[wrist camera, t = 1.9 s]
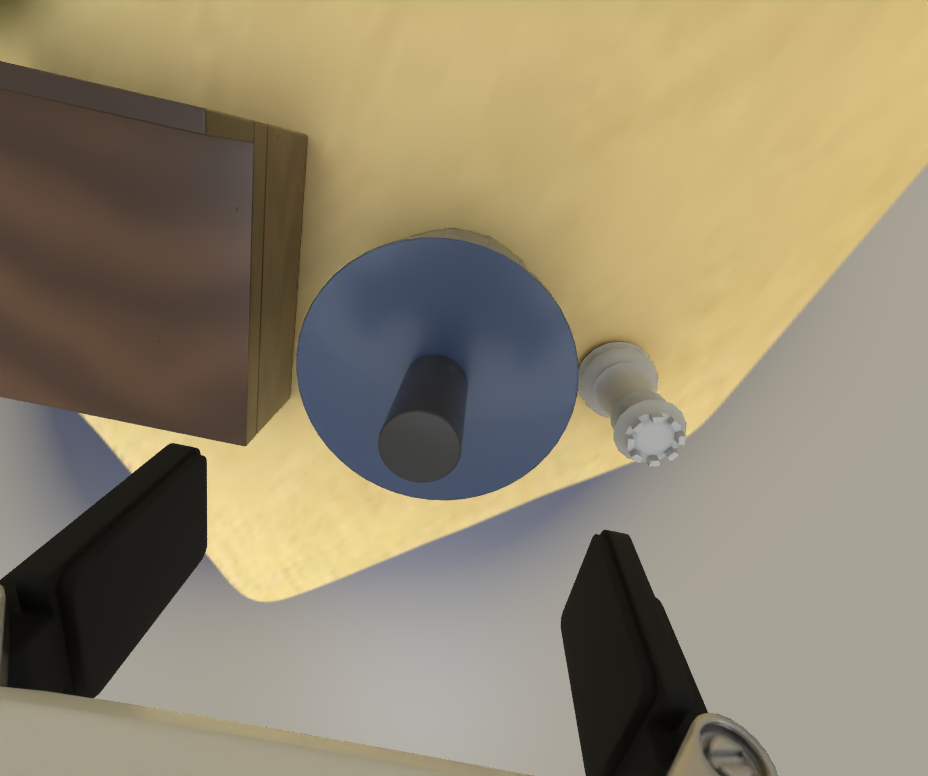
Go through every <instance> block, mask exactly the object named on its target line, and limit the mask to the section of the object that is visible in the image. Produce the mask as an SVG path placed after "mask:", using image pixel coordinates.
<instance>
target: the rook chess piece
mask: <svg viewBox="0 0 928 776" xmlns="http://www.w3.org/2000/svg"><path fill="white" fill-rule="evenodd" d="M578 372H579V381H578V390H579V392H580V394H581V397H582V399H583V400H584V401H585V403H586V405H587V406H588V407H590V408H591V409H592V410H593V411H594V412H596V413H597V414H599V415H601V416H604V417H608V418H611V425H612V427H613V429H614V442H615V444H616V446H617V448H618V450H619V451H620V452H621V453H622V454H623V455H625V456H626V457H627V458H629V459H632V460H635V461H637V462H638V463H640V462H647V464H648V466H660V461H659V459H662V458H665V457H668V458H669V460H670V461H672V460H674V459H675V458H676V457H677V456H679V453H678V452H677V450H676V449H677V448H678V447H679V446H680V445H685V439H686V435H685V432H686V421H685V419H684V416H683V414H682V412H681V411H680V410H679V409H678V408H677V407H676V406H674V405H673V404H672V403H669V402H666V400H665V399H663V398H662V397H661V396H660V395H659V394H657V393H656V391H657V383H658V374H657V372H656V369H655V367H654V364H653V362H652V361H651V360H650V357H649V355H647V354H646V353H645V352H644V351H643V350H642V349H641V348H640V347H639V346H636V345H633V344H630V343H626V342H614V343H607V344H605V345H603V346H600V347H598V348H596V349H594V350H593V351H592V352H591V353H590V354H589V355H588V356H587V357H586V358H585V359H584V360H583V361H582V364H581V366H580V368H579V370H578Z"/></svg>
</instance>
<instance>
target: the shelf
mask: <svg viewBox="0 0 928 776" xmlns="http://www.w3.org/2000/svg"><path fill="white" fill-rule="evenodd" d="M306 152H307V135H306V134H302V133H298V132H294V131H290V130H287V129H283V128H279V127H275V126H271V125H267V124H263V123H260V122H256V121H252V120H248V119H244V118H240V117H236V116H233V115H229V114H225V113H221V112H217V111H213V110H209V109H206V108H201V107H197V106H193V105H188V104H184V103H180V102H175V101H171V100H167V99H162V98H158V97H154V96H149V95H145V94H141V93H136V92H132V91H127V90H123V89H119V88H114V87H110V86H106V85H101V84H97V83H93V82H88V81H84V80H80V79H75V78H71V77H67V76H62V75H58V74H54V73H49V72H45V71H41V70H36V69H32V68H27V67H23V66H19V65H14V64H10V63H6V62H1V61H0V397H5V398H9V399H15V400H19V401H24V402H29V403H34V404H39V405H45V406H49V407H54V408H59V409H64V410H69V411H74V412H78V413H83V414H88V415H93V416H98V417H103V418H108V419H113V420H118V421H123V422H128V423H133V424H138V425H143V426H147V427H152V428H157V429H162V430H167V431H172V432H177V433H182V434H187V435H192V436H197V437H202V438H207V439H211V440H216V441H221V442H226V443H231V444H236V445H241V446H247V445H248V444H249V442H250V441H251V440H252V439H253V438H254V437H255V436H256V434H257V433H258V432H259V431H260V430H261V429H262V428H263V427H264V426H265V425H266V424H267V422H268V421H269V420H270V419H271V418H272V417H273V416H274V415H275V414H276V413H277V412H278V411H279V409H280V408H281V407H282V406H283V405H284V404H285V403H286V402H287V401H288V400H289V399H290V391H291V376H292V361H293V346H294V331H295V316H296V301H297V286H298V272H299V257H300V242H301V227H302V212H303V197H304V182H305V167H306Z"/></svg>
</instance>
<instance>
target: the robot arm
mask: <svg viewBox="0 0 928 776" xmlns="http://www.w3.org/2000/svg"><path fill="white" fill-rule="evenodd" d="M206 548H207V461H206V457H205V456H202V455H201V454H200V451H199V449H197V448H194V447H189V446H184V445H179V444H174V443H172V444H169V445H167V446H166V447H165V448H163V449H162V450H161V451H160V452H158V453H157V454H156V455H155V456H153V457H152V458H151V459H150V460H149V461H147V462H146V463H145V464H144V465H142V466H141V467H140V468H139V469H137V470H136V471H135V472H134V473H132V474H131V475H130V476H129V477H127V478H126V479H125V480H124V481H123V482H121V483H120V484H119V485H118V486H116V487H115V488H114V489H113V490H111V491H110V492H109V493H108V494H106V495H105V496H104V497H103V498H101V499H100V500H99V501H98V502H96V503H95V504H94V505H93V506H91V507H90V508H89V509H88V510H86V511H85V512H84V513H83V514H81V515H80V516H79V517H78V518H77V519H75V520H74V521H73V522H72V523H70V524H69V525H68V526H67V527H65V529H63V530H62V531H60V532H59V533H58V534H57V535H55V536H54V537H53V538H52V539H50V541H48V542H47V543H46V544H44V545H43V546H42V547H41V548H39V549H38V550H37V551H36V552H34V553H33V554H32V555H31V556H29V557H28V558H27V559H26V560H24V561H23V562H22V563H21V564H20V565H18V566H17V567H16V568H15V569H13V570H12V571H11V572H10V573H8V574H7V575H6V576H5V577H3V578H2V579H1V580H0V776H532V775H527V774H521V773H516V772H510V771H505V770H499V769H494V768H489V767H483V766H478V765H472V764H467V763H462V762H456V761H450V760H445V759H440V758H435V757H429V756H423V755H418V754H413V753H407V752H402V751H396V750H390V749H385V748H379V747H373V746H368V745H363V744H357V743H351V742H346V741H340V740H334V739H329V738H323V737H318V736H312V735H306V734H301V733H295V732H289V731H283V730H278V729H272V728H267V727H261V726H255V725H249V724H244V723H238V722H232V721H226V720H220V719H214V718H209V717H203V716H197V715H191V714H185V713H179V712H174V711H168V710H162V709H156V708H150V707H144V706H138V705H133V704H127V703H120V702H113V701H107V700H100V699H94V697H96V696H97V695H98V694H99V693H100V692H101V691H102V690H103V688H104V687H105V686H106V684H107V683H108V682H109V680H110V679H111V678H112V677H113V675H114V674H115V673H116V671H117V670H118V669H119V667H120V666H121V665H122V664H123V662H124V661H125V660H126V658H127V657H128V656H129V654H130V653H131V652H132V650H133V649H134V648H135V647H136V645H137V644H138V643H139V641H140V640H141V639H142V637H143V636H144V635H145V633H146V632H147V631H148V629H149V628H150V627H151V626H152V624H153V623H154V622H155V620H156V619H157V618H158V616H159V615H160V614H161V612H162V611H163V610H164V609H165V607H166V606H167V605H168V603H169V602H170V601H171V599H172V598H173V597H174V596H175V594H176V593H177V592H178V590H179V589H180V588H181V586H182V585H183V584H184V583H185V581H186V580H187V579H188V577H189V576H190V575H191V573H192V572H193V571H194V569H195V568H196V567H197V565H198V564H199V563H200V562H201V560H202V558H203V556H204V554H205V552H206ZM561 631H562V638H563V644H564V649H565V656H566V661H567V667H568V673H569V679H570V685H571V691H572V697H573V703H574V709H575V714H576V720H577V727H578V732H579V738H580V744H581V750H582V756H583V762H584V768H585V773H586V776H778V775H777V771H776V768H775V766H774V764H773V762H772V760H771V759H770V757H769V755H768V753H767V752H766V750H765V749H764V748H763V747H762V746H761V744H760V743H759V742H758V741H757V739H756V738H755V737H754V736H753V735H751V734H750V733H749V732H748V731H747V730H746V729H744V727H742V726H741V725H739V724H738V723H736V722H734V721H733V720H731V719H729V718H727V717H724V716H722V715H719V714H713V713H708V712H707V709H706V707H705V704H704V702H703V700H702V697H701V695H700V693H699V690H698V688H697V686H696V683H695V681H694V678H693V676H692V674H691V671H690V669H689V666H688V664H687V662H686V659H685V657H684V655H683V652H682V650H681V647H680V645H679V643H678V640H677V638H676V636H675V633H674V631H673V629H672V626H671V624H670V622H669V619H668V617H667V614H666V612H665V610H664V607H663V605H662V604H661V602H660V600H658V599H657V598H656V597H655V596H654V593H653V591H652V589H651V586H650V584H649V582H648V579H647V576H646V574H645V572H644V569H643V567H642V565H641V562H640V560H639V557H638V555H637V552H636V550H635V548H634V545H633V543H632V540H631V538H630V536H629V535H628V534H624V533H619V532H614V531H609V530H603V531H602V532H601V534H600V535H597V534H595V535H594V536H593V538H592V540H591V543H590V545H589V548H588V550H587V553H586V555H585V558H584V560H583V563H582V565H581V568H580V570H579V573H578V575H577V578H576V580H575V583H574V585H573V588H572V590H571V593H570V595H569V598H568V601H567V603H566V605H565V608H564V610H563V614H562V617H561Z"/></svg>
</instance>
